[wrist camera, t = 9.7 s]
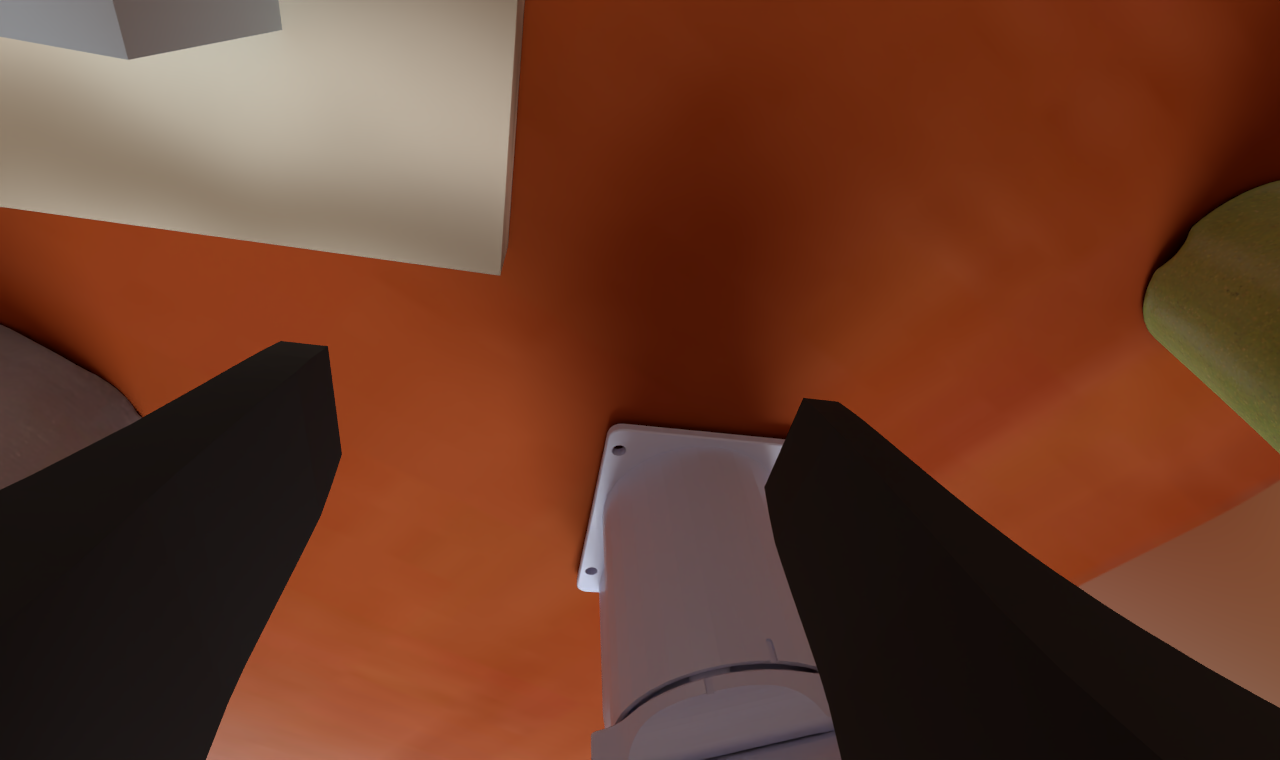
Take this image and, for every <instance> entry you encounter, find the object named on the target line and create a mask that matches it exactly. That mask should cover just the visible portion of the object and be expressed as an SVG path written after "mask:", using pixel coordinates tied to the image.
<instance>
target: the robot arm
mask: <svg viewBox="0 0 1280 760" xmlns="http://www.w3.org/2000/svg"><path fill="white" fill-rule="evenodd" d="M617 445H621V446H624V447H623V448H621V449H616V448H613V447H615V446H617ZM341 455H342V452H341V444H340V436H339V429H338V421H337V413H336V406H335V398H334V390H333V383H332V375H331V367H330V360H329V352H328V346H320V345H311V344H302V343H293V342H284V341H280V342H278V343H276V344H274V345H272V346H270V347H268V348H266V349H264V350H262V351H260V352H259V353H257V354H255V355H253V356H251V357H249V358H248V359H246V360H244V361H242V362H241V363H239V364H237V365H235V366H233V367H232V368H230V369H228V370H226V371H225V372H223V373H221V374H219V375H218V376H216V377H214V378H212V379H211V380H209V381H207V382H205V383H204V384H202V385H200V386H198V387H197V388H195V389H193V390H191V391H189V392H188V393H186V394H184V395H182V396H181V397H179V398H177V399H175V400H173V401H172V402H170V403H168V404H166V405H164V406H163V407H161V408H159V409H157V410H155V411H154V412H152V413H150V414H148V415H146V416H145V417H143V418H141V419H139V420H137V421H136V422H134V423H132V424H130V425H128V426H126V427H124V428H122V429H120V430H118V431H116V432H114V433H112V434H110V435H109V436H107V437H105V438H103V439H101V440H99V441H97V442H95V443H93V444H91V445H89V446H87V447H85V448H83V449H81V450H79V451H77V452H75V453H73V454H71V455H69V456H67V457H65V458H64V459H62V460H60V461H58V462H56V463H54V464H52V465H50V466H48V467H46V468H44V469H42V470H40V471H38V472H36V473H34V474H32V475H30V476H28V477H26V478H24V479H22V480H20V481H18V482H16V483H13V484H11V485H9V486H7V487H5V488H3V489H1V490H0V760H206V758H207V755H208V753H209V750H210V747H211V745H212V742H213V740H214V737H215V735H216V732H217V730H218V727H219V725H220V722H221V719H222V717H223V714H224V712H225V709H226V707H227V704H228V702H229V699H230V697H231V695H232V693H233V691H234V689H235V686H236V684H237V682H238V680H239V678H240V675H241V673H242V671H243V669H244V667H245V665H246V663H247V661H248V659H249V657H250V655H251V653H252V651H253V649H254V647H255V645H256V643H257V641H258V639H259V637H260V635H261V633H262V631H263V629H264V627H265V625H266V623H267V621H268V619H269V617H270V615H271V613H272V612H273V610H274V608H275V606H276V604H277V602H278V600H279V598H280V596H281V594H282V592H283V590H284V588H285V586H286V584H287V582H288V580H289V578H290V576H291V574H292V572H293V570H294V568H295V566H296V564H297V562H298V560H299V558H300V556H301V554H302V552H303V550H304V548H305V546H306V544H307V542H308V540H309V538H310V536H311V534H312V532H313V530H314V528H315V526H316V524H317V522H318V520H319V518H320V516H321V513H322V511H323V508H324V505H325V502H326V499H327V497H328V494H329V491H330V488H331V485H332V482H333V479H334V476H335V473H336V470H337V467H338V464H339V461H340V458H341ZM577 587H578V588H579V589H580V590H582V591H586V592H599V596H600V630H601V664H602V698H603V717H604V725H605V729H602V730H599V731H595V732H593V733H592V734H591V760H1280V708H1279V707H1277V706H1275V705H1273V704H1272V703H1270V702H1268V701H1266V700H1264V699H1262V698H1260V697H1259V696H1257V695H1255V694H1253V693H1251V692H1250V691H1248V690H1246V689H1244V688H1242V687H1241V686H1239V685H1237V684H1235V683H1233V682H1232V681H1230V680H1228V679H1226V678H1225V677H1223V676H1221V675H1219V674H1218V673H1216V672H1214V671H1212V670H1211V669H1209V668H1207V667H1205V666H1204V665H1202V664H1200V663H1198V662H1197V661H1195V660H1193V659H1192V658H1190V657H1188V656H1187V655H1185V654H1184V653H1182V652H1180V651H1178V650H1177V649H1175V648H1174V647H1172V646H1170V645H1169V644H1167V643H1165V642H1164V641H1162V640H1160V639H1158V638H1157V637H1155V636H1153V635H1152V634H1150V633H1148V632H1147V631H1145V630H1143V629H1142V628H1140V627H1139V626H1137V625H1135V624H1134V623H1132V622H1130V621H1129V620H1127V619H1126V618H1124V617H1123V616H1121V615H1120V614H1118V613H1116V612H1115V611H1113V610H1112V609H1110V608H1108V607H1107V606H1105V605H1104V604H1102V603H1101V602H1099V601H1098V600H1096V599H1095V598H1093V597H1092V596H1090V595H1089V594H1087V593H1086V592H1084V591H1083V590H1081V589H1080V588H1079V587H1077V586H1076V585H1074V584H1073V583H1071V582H1070V581H1068V580H1067V579H1065V578H1064V577H1062V576H1061V575H1059V574H1058V573H1056V572H1055V571H1053V570H1052V569H1050V568H1049V567H1048V566H1046V565H1045V564H1043V563H1042V562H1041V561H1039V560H1038V559H1036V558H1035V557H1034V556H1032V555H1031V554H1029V553H1028V552H1027V551H1025V550H1024V549H1022V548H1021V547H1020V546H1018V545H1017V544H1016V543H1015V542H1013V541H1012V540H1011V539H1009V538H1008V537H1007V536H1005V535H1004V534H1003V533H1001V532H1000V531H999V530H997V529H996V528H995V527H993V526H992V525H991V524H990V523H988V522H987V521H986V520H984V519H983V518H982V517H980V516H979V515H978V514H976V513H975V512H974V511H973V510H971V509H970V508H969V507H968V506H966V505H965V504H964V503H963V502H961V501H960V500H959V499H958V498H956V497H955V496H954V495H953V494H951V493H950V492H949V491H948V490H947V489H945V488H944V487H943V486H942V485H940V484H939V483H938V482H937V481H936V480H934V479H933V478H932V477H931V476H930V475H928V474H927V473H926V472H925V471H924V470H922V469H921V468H920V467H919V466H918V465H916V464H915V463H914V462H913V461H912V460H910V459H909V458H908V457H907V456H906V455H904V454H903V453H902V452H901V451H900V450H898V449H897V448H896V447H895V446H894V445H893V444H891V443H890V442H889V441H888V440H887V439H885V438H884V437H883V436H882V435H881V434H879V433H878V432H877V431H876V430H874V429H873V428H872V427H871V426H870V425H868V424H867V423H866V422H865V421H863V420H862V419H861V418H859V417H858V416H857V415H856V414H854V413H853V412H852V411H850V410H849V409H848V408H846V407H845V406H843V405H842V404H840V403H839V402H835V401H826V400H816V399H807V398H803V400H802V403H801V405H800V407H799V409H798V412H797V414H796V416H795V418H794V421H793V423H792V425H791V428H790V430H789V432H788V434H787V437H786V439H776V438H766V437H756V436H746V435H735V434H725V433H715V432H705V431H694V430H684V429H674V428H663V427H653V426H643V425H633V424H616V425H614V426H612V427H611V428H610V429H609V430H608V432H607V437H606V441H605V446H604V451H603V456H602V461H601V465H600V470H599V475H598V480H597V484H596V489H595V494H594V499H593V504H592V508H591V513H590V518H589V523H588V528H587V532H586V537H585V542H584V547H583V552H582V556H581V561H580V566H579V571H578V576H577Z"/></svg>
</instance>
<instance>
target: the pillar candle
mask: <svg viewBox="0 0 1280 760" xmlns="http://www.w3.org/2000/svg"><path fill="white" fill-rule="evenodd" d="M141 418H142V417H141V416H140V415H139V414H137V412H136V410H135V409H134V407H133V406H132V404H131V403H130V402H129V401H128V399H127V398H126V397H125V396H124V395H123V394H122V393H121V392H119V391H118V390H117V389H116V388H115V387H113V386H112V385H111V384H109V383H108V382H106V381H105V380H103V379H102V378H100V377H99V376H97V375H95V374H93V373H91V372H89V371H87V370H85V369H83V368H81V367H79V366H77V365H76V364H74V363H72V362H71V361H69V360H67V359H65V358H63V357H62V356H60V355H58V354H56V353H55V352H53V351H51V350H49V349H47V348H45V347H44V346H42V345H40V344H38V343H36V342H34V341H32V340H30V339H28V338H27V337H25V336H23V335H21V334H19V333H17V332H15V331H13V330H11V329H10V328H7V327H5V326H3V325H1V324H0V490H1V489H3V488H5V487H7V486H9V485H11V484H13V483H16V482H18V481H20V480H22V479H24V478H26V477H28V476H30V475H32V474H34V473H36V472H38V471H40V470H42V469H44V468H46V467H48V466H50V465H52V464H54V463H56V462H58V461H60V460H62V459H64V458H65V457H67V456H69V455H71V454H73V453H75V452H77V451H79V450H81V449H83V448H85V447H87V446H89V445H91V444H93V443H95V442H97V441H99V440H101V439H103V438H105V437H107V436H109V435H110V434H112V433H114V432H116V431H118V430H120V429H122V428H124V427H126V426H128V425H130V424H132V423H134V422H136V421H137V420H139V419H141Z"/></svg>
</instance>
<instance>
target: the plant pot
mask: <svg viewBox="0 0 1280 760" xmlns="http://www.w3.org/2000/svg"><path fill="white" fill-rule="evenodd" d="M1143 315H1144V321H1145V324H1146V326H1147V329H1148V330H1149V332H1150V333H1151V334H1152V335H1153V336H1154V337H1155V339H1156V340H1158V341H1159V342H1160V343H1161V344H1162V345H1163V346H1164V347H1165V348H1166V349H1167V350H1168V351H1170V352H1171V353H1172V354H1173V355H1174V356H1175V357H1176V358H1177V359H1178V360H1179V361H1181V362H1182V363H1183V364H1184V365H1185V366H1186V367H1187V368H1188V369H1189V370H1190V371H1192V372H1193V373H1194V374H1195V375H1196V376H1197V377H1198V378H1199V379H1200V380H1201V381H1203V382H1204V383H1205V384H1206V385H1207V386H1208V387H1209V388H1210V389H1211V390H1212V391H1213V392H1214V393H1215V394H1217V395H1218V396H1219V397H1220V398H1221V399H1222V400H1223V401H1224V402H1225V403H1226V404H1227V405H1228V406H1230V407H1231V408H1232V409H1233V410H1234V411H1235V412H1236V413H1237V414H1238V415H1239V416H1240V417H1241V418H1242V419H1244V420H1245V421H1246V422H1247V423H1248V424H1249V425H1250V426H1251V427H1252V428H1253V429H1254V430H1255V431H1256V432H1258V433H1259V434H1260V435H1261V436H1262V437H1263V438H1264V439H1265V440H1266V441H1267V442H1268V443H1269V444H1270V445H1271V446H1272V447H1273V448H1274V449H1275V450H1276V451H1278V452H1279V453H1280V180H1279V181H1275V182H1271V183H1268V184H1265V185H1262V186H1260V187H1257V188H1254V189H1252V190H1249V191H1247V192H1245V193H1243V194H1241V195H1239V196H1237V197H1235V198H1233V199H1231V200H1229V201H1228V202H1226V203H1224V204H1223V205H1221V206H1219V207H1218V208H1216V209H1215V210H1213V211H1212V212H1211V213H1209V214H1208V215H1207V216H1205V217H1204V218H1202V219H1201V220H1200V221H1199V222H1198V223H1197V224H1195V225H1194V226H1193V227H1192V228H1191V230H1190V232H1189V234H1188V237H1187V240H1186V241H1185V243H1184V244H1183V246H1182V247H1181V249H1180V250H1179V251H1178V252H1177V254H1176V255H1175V256H1174V257H1173V258H1171V259H1170V260H1169V261H1168V262H1167V263H1165V264H1164V265H1163V266H1161V267H1160V268H1158V269H1157V270H1156V271H1155V273H1154V274H1153V276H1152V278H1151V281H1150V283H1149V285H1148V287H1147V290H1146V294H1145V297H1144V304H1143Z"/></svg>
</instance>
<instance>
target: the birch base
mask: <svg viewBox="0 0 1280 760" xmlns="http://www.w3.org/2000/svg"><path fill="white" fill-rule="evenodd" d="M278 1H279V9H280V16H281V24H282V30H279V31H274V32H269V33H264V34H259V35H254V36H249V37H243V38H238V39H233V40H228V41H223V42H218V43H213V44H208V45H202V46H197V47H192V48H187V49H182V50H177V51H172V52H166V53H161V54H156V55H151V56H146V57H141V58H136V59H130V60H126V59H121V58H115V57H110V56H104V55H99V54H93V53H87V52H82V51H76V50H71V49H65V48H60V47H54V46H49V45H43V44H38V43H32V42H27V41H21V40H16V39H10V38H5V37H0V207H7V208H14V209H21V210H28V211H36V212H43V213H50V214H57V215H65V216H72V217H79V218H86V219H94V220H101V221H108V222H115V223H123V224H130V225H137V226H144V227H152V228H159V229H166V230H173V231H181V232H188V233H195V234H202V235H210V236H217V237H224V238H231V239H239V240H246V241H253V242H260V243H268V244H275V245H282V246H289V247H297V248H304V249H311V250H319V251H326V252H333V253H340V254H348V255H355V256H362V257H369V258H377V259H384V260H391V261H398V262H406V263H413V264H420V265H427V266H435V267H442V268H449V269H456V270H464V271H471V272H478V273H485V274H493V275H500V274H501V270H502V267H503V263H504V259H505V255H506V252H507V248H508V237H509V222H510V208H511V193H512V179H513V164H514V149H515V135H516V120H517V106H518V91H519V76H520V62H521V47H522V33H523V18H524V4H525V0H278Z"/></svg>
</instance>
